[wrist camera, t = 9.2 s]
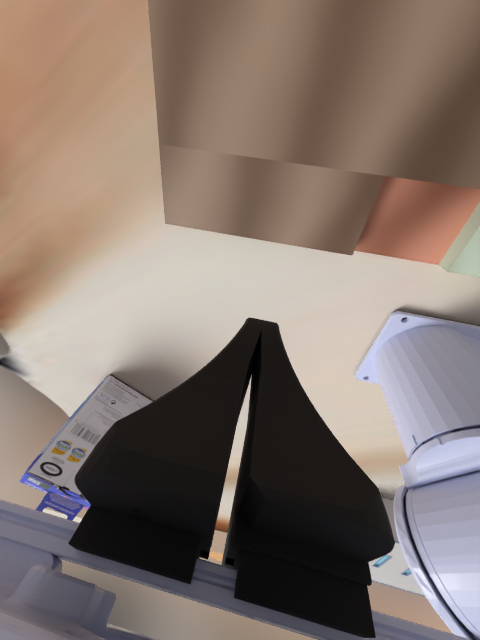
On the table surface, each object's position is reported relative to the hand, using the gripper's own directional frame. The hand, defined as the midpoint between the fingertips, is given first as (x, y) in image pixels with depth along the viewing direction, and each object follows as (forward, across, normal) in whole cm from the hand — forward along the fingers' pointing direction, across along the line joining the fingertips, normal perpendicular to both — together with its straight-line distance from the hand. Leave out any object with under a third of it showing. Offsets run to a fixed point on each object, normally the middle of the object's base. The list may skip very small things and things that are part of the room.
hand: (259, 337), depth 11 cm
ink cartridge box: (+10, +16, +24) cm, 30 cm away
